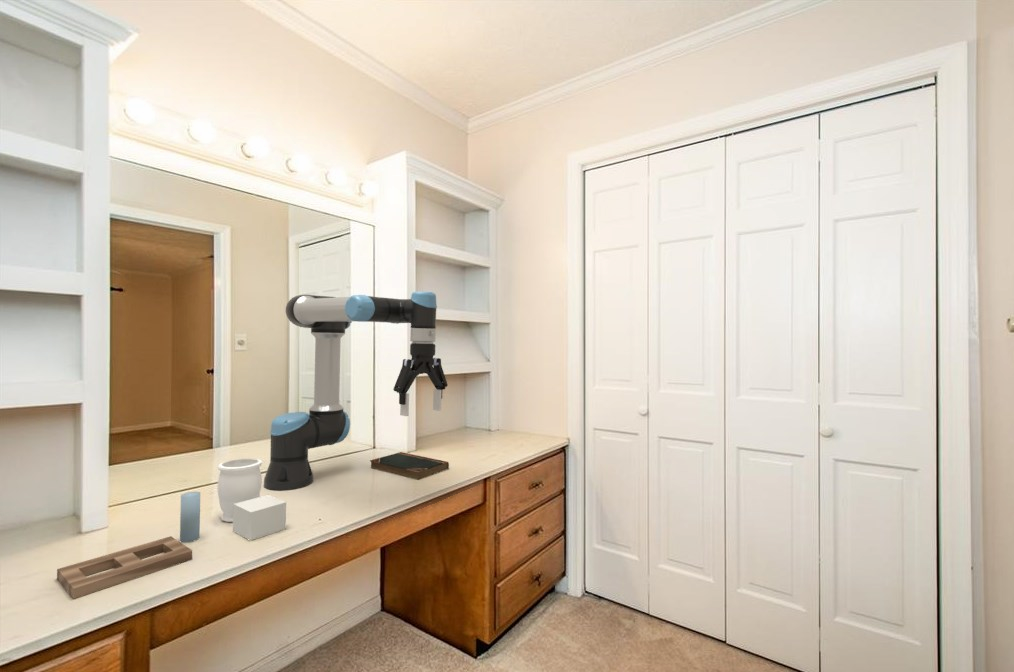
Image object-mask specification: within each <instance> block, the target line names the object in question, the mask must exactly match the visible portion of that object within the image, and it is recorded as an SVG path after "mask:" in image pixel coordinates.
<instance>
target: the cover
mask: <svg viewBox="0 0 1014 672" xmlns="http://www.w3.org/2000/svg"><path fill="white" fill-rule="evenodd" d="M286 521H287V501H285V500H282V499H279V498H277V497H275V496H272V495H270V494H266V495H262V496H259V497H258V498H254V499H251V500H247V501H243V502H239V503H236V504H234V505H233V522H232V532H234V533H235V534H237V535H239V536H240V537H243V538H244V537H245V538H244V539H246V538H247V539H246V540H248V539H249V540H248V541H250V540H251V541H254V540H257V539H259V538H262V537H266V536H269V535H272V534H274V533H277V532H281V531H283V530H286V526H287V522H286Z"/></svg>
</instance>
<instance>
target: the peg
mask: <svg viewBox="0 0 1014 672" xmlns="http://www.w3.org/2000/svg"><path fill="white" fill-rule="evenodd" d="M179 520H180V521H179V522H180V523H179V542H180V541H181V542H180V543H191V542H195V541H196V540H199V539H200V531H201V530H200V528H201V526H200V525H201V492H200V491H189V492H185V493H182V494H180V517H179ZM198 538H199V539H198ZM194 540H195V541H194Z"/></svg>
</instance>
